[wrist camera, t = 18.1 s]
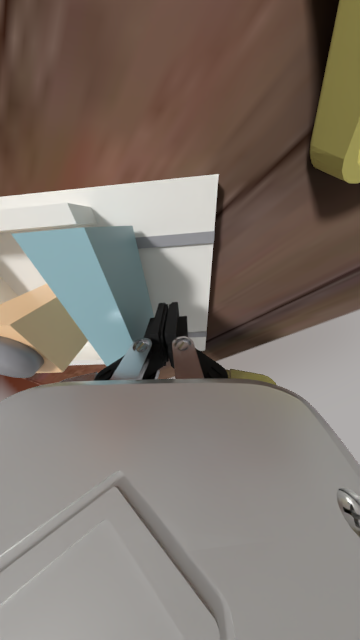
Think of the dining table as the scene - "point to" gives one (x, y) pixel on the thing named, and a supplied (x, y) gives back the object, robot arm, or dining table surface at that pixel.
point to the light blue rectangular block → (95, 282)
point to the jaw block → (37, 335)
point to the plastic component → (340, 100)
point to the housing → (150, 233)
